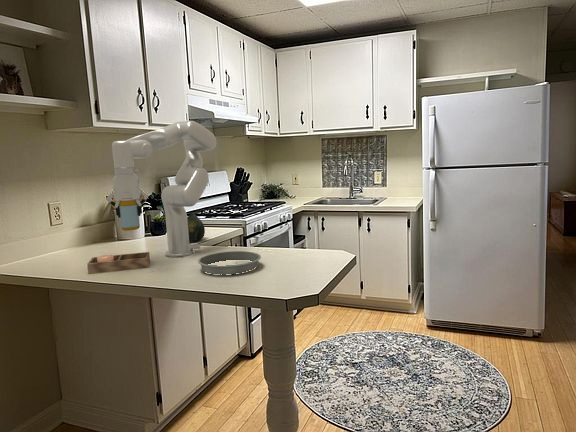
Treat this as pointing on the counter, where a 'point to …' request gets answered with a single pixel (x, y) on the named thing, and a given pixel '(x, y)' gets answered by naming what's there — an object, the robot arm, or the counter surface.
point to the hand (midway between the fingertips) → (129, 216)
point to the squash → (195, 228)
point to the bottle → (128, 212)
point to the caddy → (120, 263)
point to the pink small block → (105, 258)
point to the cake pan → (229, 256)
